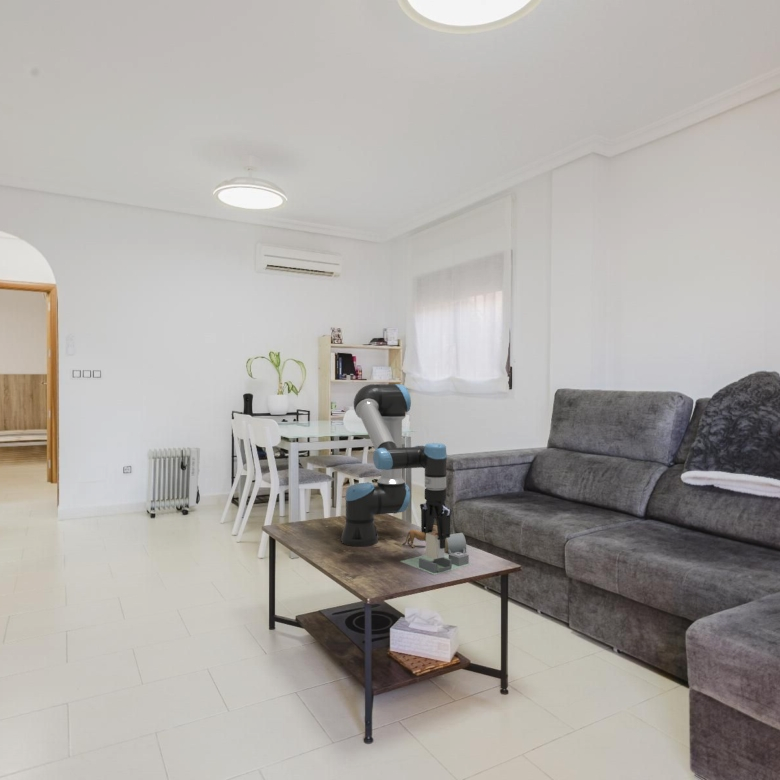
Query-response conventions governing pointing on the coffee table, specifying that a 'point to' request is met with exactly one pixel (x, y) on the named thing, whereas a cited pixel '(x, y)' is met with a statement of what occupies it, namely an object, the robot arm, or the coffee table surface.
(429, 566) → the header
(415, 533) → the lion figurine
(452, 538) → the ceramic mug
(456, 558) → the fan
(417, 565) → the board
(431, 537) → the plug
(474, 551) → the coffee table surface
